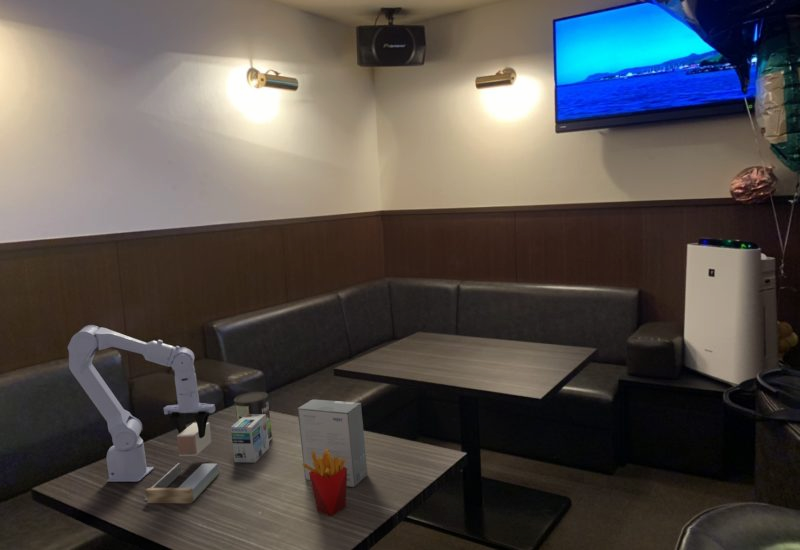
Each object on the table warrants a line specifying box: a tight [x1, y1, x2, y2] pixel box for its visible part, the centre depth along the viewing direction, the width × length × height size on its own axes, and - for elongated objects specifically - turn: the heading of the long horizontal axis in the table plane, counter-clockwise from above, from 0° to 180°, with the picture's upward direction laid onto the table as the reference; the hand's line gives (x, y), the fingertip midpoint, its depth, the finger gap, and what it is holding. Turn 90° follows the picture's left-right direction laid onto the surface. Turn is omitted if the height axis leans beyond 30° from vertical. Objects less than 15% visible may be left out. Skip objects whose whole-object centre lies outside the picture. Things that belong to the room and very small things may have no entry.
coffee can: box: [233, 391, 273, 442], centre depth 186 cm, size 10×10×14 cm
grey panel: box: [144, 462, 182, 502], centre depth 160 cm, size 2×15×3 cm, turn 172°
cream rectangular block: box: [176, 421, 212, 457], centre depth 172 cm, size 5×10×6 cm, turn 173°
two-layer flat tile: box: [177, 463, 220, 501], centre depth 158 cm, size 5×15×3 cm, turn 172°
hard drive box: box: [297, 399, 368, 488], centre depth 157 cm, size 16×8×20 cm, turn 65°
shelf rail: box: [145, 487, 195, 504], centre depth 151 cm, size 12×1×4 cm, turn 82°
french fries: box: [301, 449, 348, 517], centre depth 140 cm, size 9×8×15 cm
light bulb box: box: [230, 414, 270, 464], centre depth 175 cm, size 11×7×11 cm, turn 170°
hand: (193, 436), depth 171 cm, fingers closed on cream rectangular block, 5 cm apart
